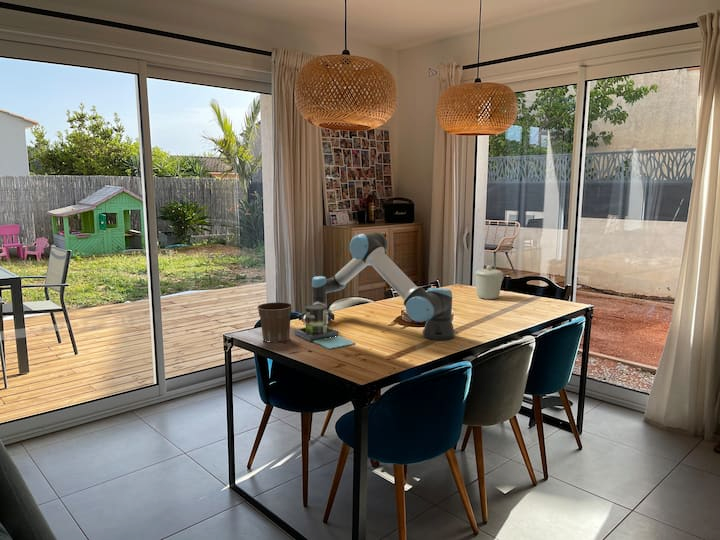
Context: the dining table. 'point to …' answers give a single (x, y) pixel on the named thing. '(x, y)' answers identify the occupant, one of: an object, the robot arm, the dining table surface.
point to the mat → (334, 342)
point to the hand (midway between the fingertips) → (315, 321)
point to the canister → (488, 282)
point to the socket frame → (303, 334)
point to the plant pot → (275, 321)
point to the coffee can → (316, 319)
